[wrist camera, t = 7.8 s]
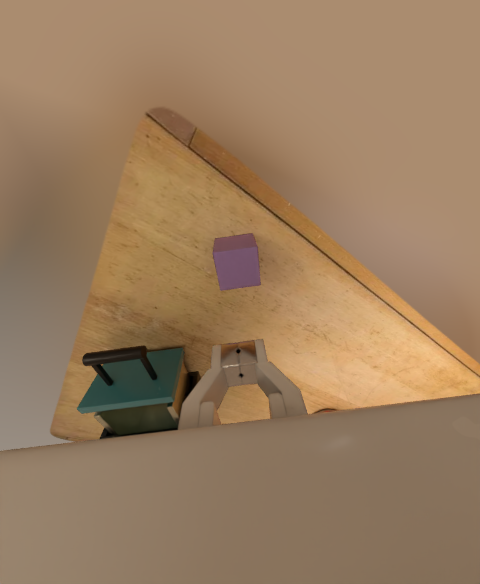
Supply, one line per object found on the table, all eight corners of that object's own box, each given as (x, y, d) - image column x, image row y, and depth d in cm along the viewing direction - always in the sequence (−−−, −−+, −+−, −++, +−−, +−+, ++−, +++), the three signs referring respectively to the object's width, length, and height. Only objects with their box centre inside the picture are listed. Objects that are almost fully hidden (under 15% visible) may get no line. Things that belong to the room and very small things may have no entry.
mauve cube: (214, 238, 23) (212, 252, 20) (252, 232, 23) (257, 246, 20) (221, 272, 26) (220, 290, 22) (255, 267, 26) (260, 285, 22)
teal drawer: (87, 329, 28) (45, 380, 22) (171, 318, 28) (154, 366, 22) (141, 404, 39) (123, 453, 32) (202, 396, 39) (197, 444, 32)
